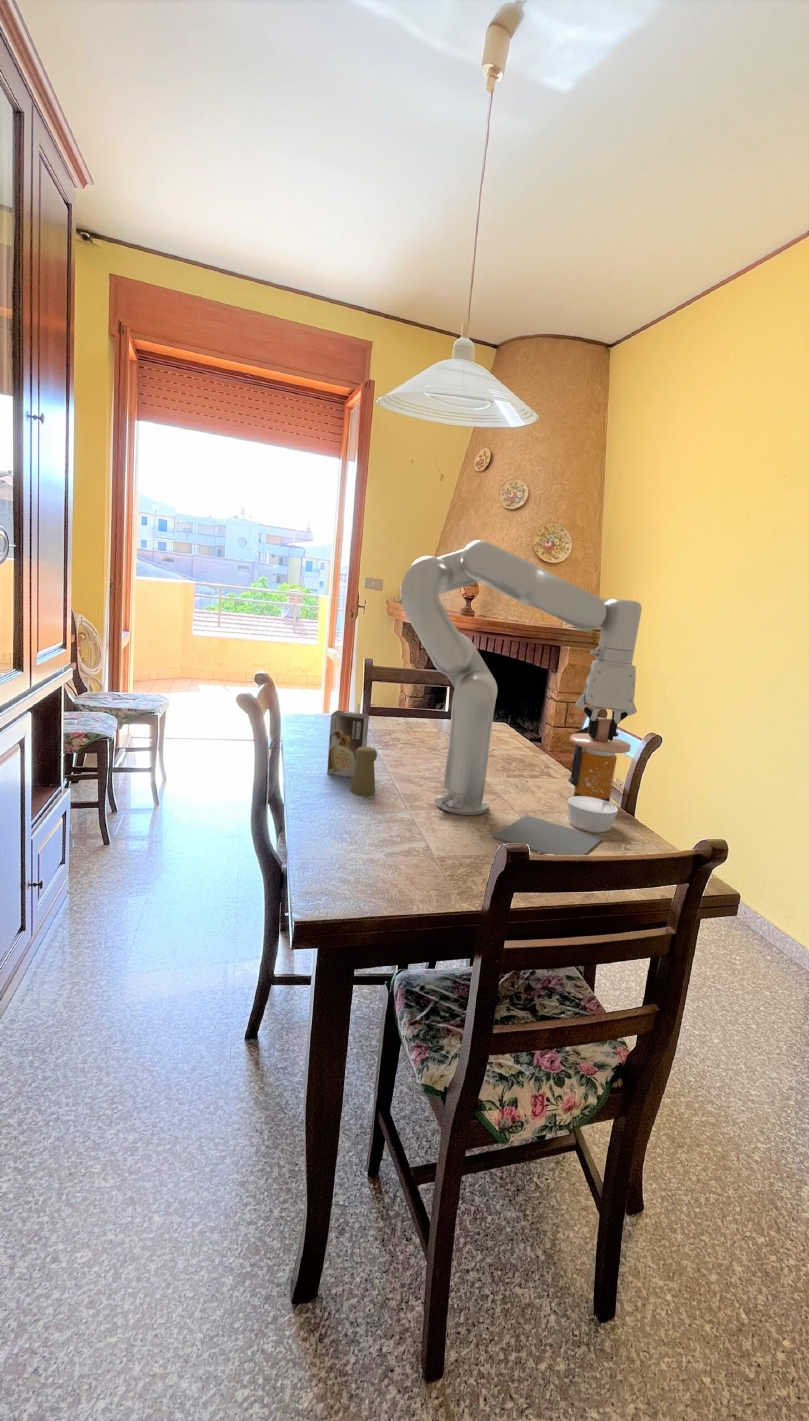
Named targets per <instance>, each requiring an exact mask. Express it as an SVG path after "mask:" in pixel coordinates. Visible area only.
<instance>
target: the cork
mask: <svg viewBox="0 0 809 1421" xmlns="http://www.w3.org/2000/svg"><path fill="white" fill-rule="evenodd" d="M355 756H356V759H357V763H356V768H355V772H354V777H352V782H351V786H350V792H351V793H352V794H354V795H358V796H371V795H372V794H373V795H374V793H375V794H376V783H375V782H376V778H375V776H376V775H375V761H376V760H377V758H378V753H377V750H376V749H375V748H374V747H371V746H367V747H359V748H358V749H357V750H356V753H355Z"/></svg>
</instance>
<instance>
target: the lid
mask: <svg viewBox="0 0 809 1421" xmlns="http://www.w3.org/2000/svg"><path fill="white" fill-rule="evenodd" d="M611 721H612V720H611V718H608V717H601V716H597V722H598V726H597V731H596V737H595V738H594V739H592V738H591V737H590V736H589V734H587V733H577V734H575V733H572V734H571V735H570V737H569V742H571V743H572V744H573V745H574V746H576V745H578V746H580V747H583V748H587V749H591V750H596V751H601V752H609V753H615V754H626V753H629V752H630V751H631V744H630V743H629V742H626V741H625V740H621V739H620V738H616V737H613V740H612V741H610V740H608V738H609V732H610V726H611ZM583 748H582V749H583Z"/></svg>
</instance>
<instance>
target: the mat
mask: <svg viewBox="0 0 809 1421" xmlns="http://www.w3.org/2000/svg"><path fill="white" fill-rule="evenodd" d="M491 838H492V839H495V840H499V841H501V842H504V843H507V844H510V843H525V844H528V845H529V848H530V850H529V851H532V852H533V853H538V852H540V853H538V854H540V855H543V854H554V855H585V856H586V855H587V854H588V853H590V850H591V849H592V850H593V849H594V848H595V847H596V846H597V845H599V844H600V843H601V842H602V841H603V839H604V838H603V837H600V836H596V835H594V834H590V833H587V832H585V831H580V830H579V829H578V830H577V829H574V828H570V827H567V826H564V825H560V824H558V823H554V822H550V821H547V820H544V819H540V818H538V817H535V816H530V815H527V814H526V815H524V816H522V817H521V818H519V819H517V820H515V821H514V822H512V823H510V824H509V825H507V826H505V827H504V828H502V829H500V830H499V831H497V832H495V833H493V834H492V835H491ZM600 841H601V842H600ZM592 850H591V851H592ZM587 852H588V853H587Z"/></svg>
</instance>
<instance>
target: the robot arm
mask: <svg viewBox="0 0 809 1421" xmlns="http://www.w3.org/2000/svg"><path fill="white" fill-rule="evenodd" d="M477 583H481V584H483V585H486V586H487V587H488V588H489V587H490V588H491V589H493V590H495V591H496V592H499V593H501V594H503V595H505V596H507V597H509V598H511V599H512V600H515V601H517V602H520V603H521V604H523V605H526V606H528V607H533V608H534V609H537V610H540V611H542V612H545V613H546V614H548V615H551V616H553V617H555V618H556V619H559V620H561V621H563V622H564V623H566V624H569V625H571V626H573V627H574V628H576V629H577V630H581V631H585V632H586V631H587V632H590V631H594V630H600V634H599V640H598V646H597V647H596V648H591V650H590V655H591V656H594V657H595V660H592V663H591V665H590V667H589V671H588V673H587V676H586V677H587V678H586V682H585V685H584V688H583V689H584V690H583V692H582V694H581V696H579V698H578V699H577V701H576V702H575V706H576V707H577V708H579V709H580V710H581V711H583V713H585V715H586V716H587V718H588V725H587V727H588V730H587V733H588V734H589V736H590V737H591V738H592V739H594V738H595V737H596V731H597V726H598V722H597V717H598V714H599V711H600V709H604V710H611V718H610V719H611V720H612V721H611V726H610V732H609V738H608V740H610V741H612V740H613V738H616V737H615V736H616V732H617V730H618V724H620V723H621V721H623V720H624V719H626V718H627V717H630V716H632V715H635V714H636V713H637V712H638V711H637V710H638V709H637V708H636V705H635V702H634V700H635V692H636V678H637V677H636V676H637V669H636V665H633V661H634V655H635V649H636V643H637V638H638V633H639V628H640V627H639V626H640V623H641V622H640V621H641V614H642V608H643V607H642V605H641V603H640V602H639V601H635V600H631V599H630V600H629V599H622V598H621V599H618V598H611V599H606V598H601V597H599V596H597V595H596V594H593V593H591V592H589V591H587V590H585V589H582V588H581V587H578V586H577V585H575V584H573V583H571V582H569V581H567V580H564V579H562V578H560V577H559V576H556V575H555V574H553V573H551V572H549V571H547V570H546V569H545V568H542V567H541V566H538V565H537V564H534V563H532V562H531V561H528V560H526V559H524V558H522V557H520V556H518V555H515V554H513V553H512V552H510V551H507V550H506V549H504V548H501V547H499V546H497V545H495V544H494V543H491V542H489V541H486V540H481V539H478V540H473V541H470V543H468V544H466V546H465V547H464V548H463V549H460V550H457V551H454V552H451V553H448V554H445V555H441V556H439V557H437V556H433V555H424V556H421V557H419V558H417V559H416V560H414V561H413V562H412V563H411V564H410V566H408V569H407V570H406V572H405V574H404V576H403V579H402V582H401V586H400V600H401V606H402V608H403V611H404V614H405V616H406V617H407V620H408V621H409V623H410V625H411V627H412V628H413V630H414V632H415V633H416V635H417V637H418V639H419V641H420V643H421V645H422V646H423V647H424V649H425V651H426V653H427V654H428V656H429V658H430V660H431V662H432V663H433V666H434V667H435V669H436V670H437V671H439V672H440V673H441V674H444V675H446V676H447V678H448V679H449V681H450V682H451V684H452V685H453V687H454V690H453V693H452V694H453V695H452V699H451V716H450V717H451V718H450V726H449V733H448V734H449V736H448V737H449V738H448V746H447V754H446V755H447V756H446V763H445V772H444V779H443V789H442V793H441V794H438V795H437V796H435V799H434V804H435V806H437V807H438V808H439V809H441V810H443V811H446V812H448V813H451V814H457V815H463V816H478V815H482V814H483V815H484V814H485V813H487V812H488V810H489V803H488V802H487V801H486V800H485V799H484V792H485V785H486V784H485V783H486V777H487V771H488V770H487V769H488V763H489V762H488V761H489V755H490V746H491V737H492V729H493V722H494V713H495V707H496V700H497V696H498V684H497V682H496V679H495V678H494V676H493V674H492V672H491V671H490V668H488V666H487V664H486V663H485V661H484V659H483V657H482V656H481V653H480V652H479V651H478V649H477V648H476V646H475V644H474V643H473V641H472V640H471V639H470V638H469V637H468V636H467V635H466V634H463V633H461V632H460V631H459V630H458V628H457V626H456V625H455V623H454V621H453V620H452V619H451V617H450V615H449V613H448V611H447V610H446V608H445V607H444V606H443V603H442V602H441V600H440V595H441V594H444V593H445V594H446V593H448V592H452V591H455V590H457V589H461V588H465V587H468V586H471V585H474V584H477ZM585 704H587V705H585ZM588 706H589V707H588Z"/></svg>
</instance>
